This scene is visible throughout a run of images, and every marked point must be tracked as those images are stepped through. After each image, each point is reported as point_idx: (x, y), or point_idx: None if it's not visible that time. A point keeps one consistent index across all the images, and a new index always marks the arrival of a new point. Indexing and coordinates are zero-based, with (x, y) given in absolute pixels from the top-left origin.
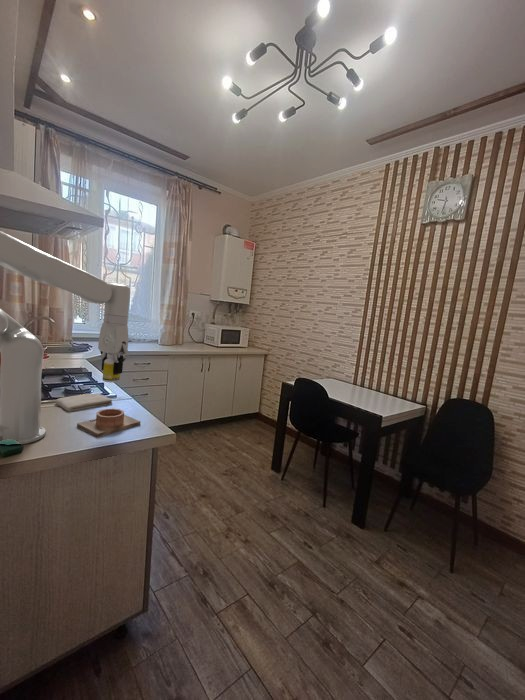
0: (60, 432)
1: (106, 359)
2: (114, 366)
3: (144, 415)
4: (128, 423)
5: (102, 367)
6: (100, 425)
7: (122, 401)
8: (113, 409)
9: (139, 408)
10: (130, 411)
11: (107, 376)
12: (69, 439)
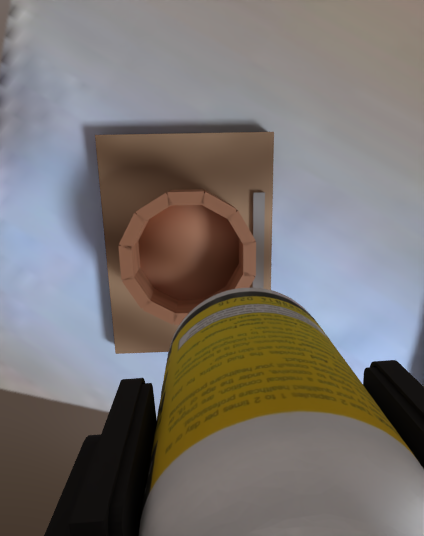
0: (255, 43)
1: (376, 514)
2: (94, 453)
3: None
4: (124, 301)
5: (393, 379)
6: (169, 190)
7: None
8: None
9: None
10: None
11: (210, 320)
12: (154, 32)
